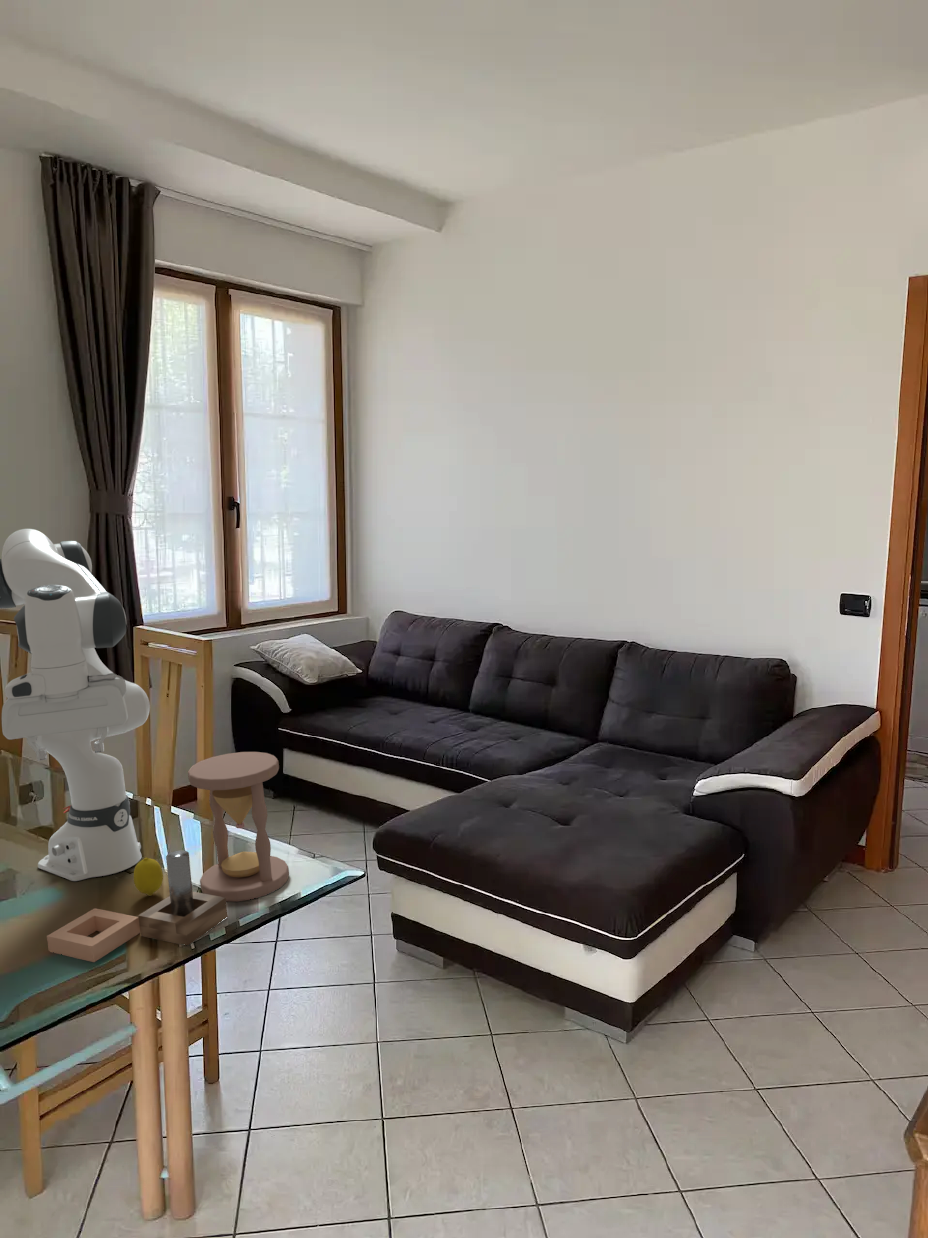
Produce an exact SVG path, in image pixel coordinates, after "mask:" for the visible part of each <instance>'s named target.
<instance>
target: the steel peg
mask: <svg viewBox="0 0 928 1238" xmlns="http://www.w3.org/2000/svg"><path fill="white" fill-rule="evenodd" d="M165 859H166V861H165V862H166V869H167V871H166V872H167V879H168V892H169V896H170V902H171V912H172V915H177V916H182V917H185V916H186V915H188V914H189V913H191V912H192V911H194V902H193V892H194V891H193V884H192V872H191V862H190V851H189V852H188V851H187V850H174V851H171V852H169V853H168V854H167V855H165Z"/></svg>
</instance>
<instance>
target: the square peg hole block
mask: <svg viewBox="0 0 928 1238" xmlns="http://www.w3.org/2000/svg"><path fill="white" fill-rule="evenodd" d="M192 892H193V902H194V911H192V912H191V913H189V914H188V915H186V916H185V917H182V916H177V915H172V912H171V902H170V895H169V896H167V897H166V898H164V899H163V900H161V901H159V902H158V903H156V904H154V905H152V906H151V907H150V908H147V909H146V910H144V911H143V912H141V913H139V915H137V917H138V918H139V926H140V933H139V934H140V937H145V938H150V939H154V940H157V941H163V942H168V943H172V944H177V945H181V944H185V945H184V946H186V945H188V946H190V945H191V944H193V943H194V942H195V941H197V940H198V939H200V938H201V937H202V936H204V935H205V934H206V932H207V931H208V932H210V931H211V930H212V929H214V928H215V927H217V926H218V925H219V924H220V923H219V922H221V921H222V920H223V919H225V918H226V917H228V918H229V916H228V915H229V914H228V905H227V902H226V898H225V897H220V896H214V895H209V894H203V892H197V891H192ZM225 920H226V919H225ZM222 922H223V921H222ZM222 922H221V923H222ZM218 923H219V924H218ZM217 924H218V925H217ZM216 925H217V926H216ZM214 926H215V927H214ZM213 927H214V928H213ZM211 928H212V929H211ZM210 929H211V930H210ZM209 930H210V931H209ZM208 932H207V933H208ZM189 944H190V945H189Z"/></svg>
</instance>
